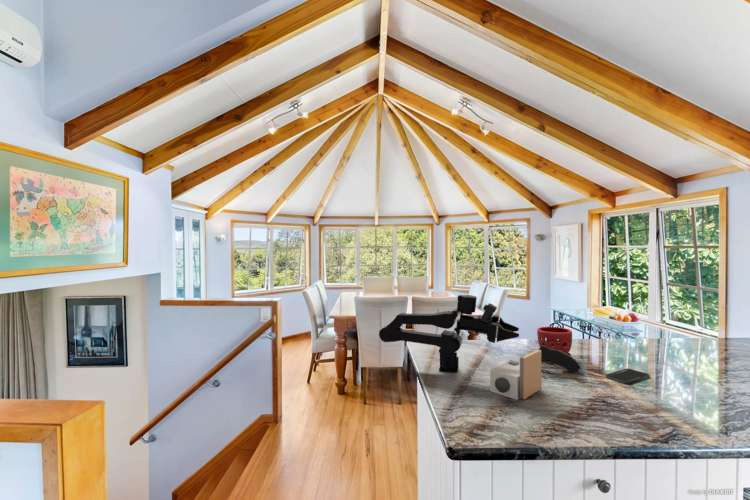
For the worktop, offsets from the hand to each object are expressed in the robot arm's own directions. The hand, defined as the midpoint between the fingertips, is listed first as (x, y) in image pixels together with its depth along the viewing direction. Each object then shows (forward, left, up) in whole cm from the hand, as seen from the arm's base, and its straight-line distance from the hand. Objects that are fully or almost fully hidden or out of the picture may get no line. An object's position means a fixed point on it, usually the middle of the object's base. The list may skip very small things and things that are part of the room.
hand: (518, 332), depth 127 cm
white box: (-2, -11, -16) cm, 20 cm away
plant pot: (+16, +29, -17) cm, 37 cm away
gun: (+15, +12, -17) cm, 25 cm away
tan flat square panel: (+2, -14, -16) cm, 21 cm away
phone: (+37, +12, -17) cm, 42 cm away
